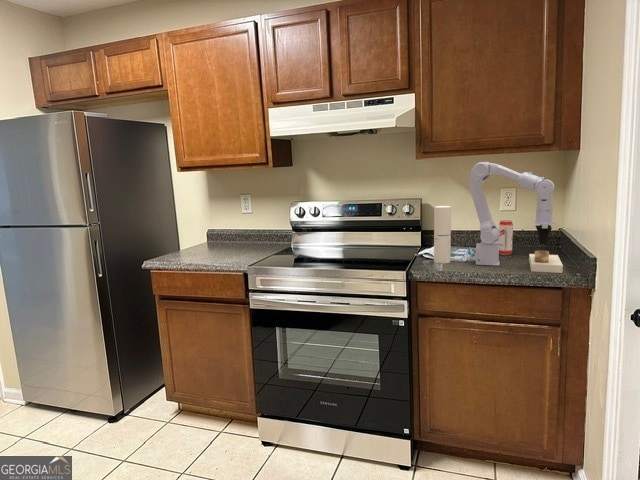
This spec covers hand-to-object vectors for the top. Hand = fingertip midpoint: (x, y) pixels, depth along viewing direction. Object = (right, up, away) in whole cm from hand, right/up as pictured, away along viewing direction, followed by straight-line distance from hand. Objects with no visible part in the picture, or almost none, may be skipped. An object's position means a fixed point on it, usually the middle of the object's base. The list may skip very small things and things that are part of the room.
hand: (542, 243), depth 175 cm
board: (+3, -10, +5) cm, 11 cm away
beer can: (-2, -6, +31) cm, 31 cm away
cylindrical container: (-35, -9, +20) cm, 41 cm away
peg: (0, -10, +2) cm, 10 cm away
